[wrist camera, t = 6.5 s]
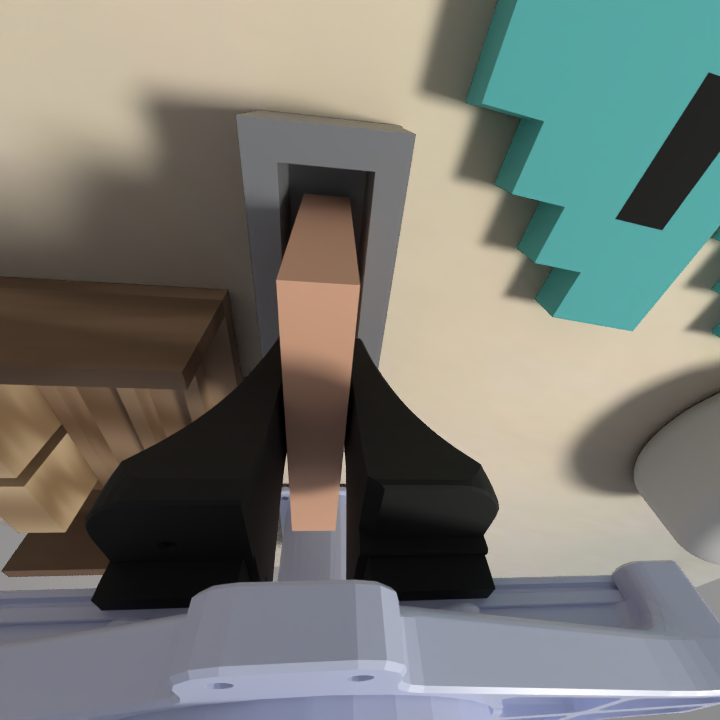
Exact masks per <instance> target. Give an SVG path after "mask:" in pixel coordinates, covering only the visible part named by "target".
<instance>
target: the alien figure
mask: <svg viewBox="0 0 720 720" xmlns="http://www.w3.org/2000/svg"><path fill="white" fill-rule="evenodd" d="M465 103H468V104H472V105H475V106H479V107H482V108H486V109H489V110H493V111H496V112H500V113H503V114H507V115H510V116H514V117H517V118H521V120H520V123H519V125H518V127H517V130H516V132H515V135H514V137H513V140H512V142H511V145H510V147H509V149H508V152H507V154H506V157H505V159H504V162H503V164H502V167H501V169H500V171H499V174H498V176H497V179H496V181H495V185H496V186H498V187H500V188H502V189H504V190H505V191H507V192H509V193H511V194H514V195H518V196H522V197H526V198H530V199H534V200H538V201H540V202H539V204H538V206H537V208H536V210H535V212H534V214H533V216H532V219H531V221H530V223H529V225H528V227H527V229H526V231H525V233H524V235H523V237H522V239H521V241H520V243H519V245H518V247H517V249H519V250H520V251H521V252H522V253H523V254H525V255H526V256H527V257H528V258H529V259H530V260H532V261H533V262H534V263H537V264H542V265H547V266H552V267H553V269H552V271H551V273H550V274H549V276H548V278H547V279H546V281H545V283H544V285H543V286H542V288H541V290H540V291H539V293H538V295H537V297H536V298H535V300H536V301H537V302H538V303H539V304H540V305H541V306H542V307H543V308H544V309H545V310H546V311H547V312H548V313H549V314H550V315H551V316H552V317H555V318H561V319H566V320H572V321H578V322H583V323H589V324H594V325H600V326H606V327H611V328H617V329H623V330H628V331H633V330H634V329H635V328H636V327H637V325H638V324H639V323H640V322H641V320H642V319H643V318H644V317H645V316H646V314H647V313H648V312H649V311H650V310H651V308H652V307H653V306H654V305H655V304H656V302H657V301H658V300H659V299H660V297H661V296H662V295H663V294H664V293H665V291H666V290H667V289H668V288H669V287H670V285H671V284H672V283H673V282H674V281H675V279H676V278H677V277H678V276H679V274H680V273H681V272H682V271H683V270H684V268H685V267H686V266H687V265H688V264H689V262H690V261H691V260H692V259H693V258H694V256H695V255H696V254H697V253H698V251H699V250H700V249H701V248H702V247H703V245H704V244H705V243H706V242H707V241H708V239H709V238H710V237H711V236H712V234H713V233H714V232H715V231H716V230H717V228H718V227H719V226H720V0H498V2H497V5H496V8H495V12H494V15H493V18H492V21H491V24H490V27H489V30H488V33H487V36H486V40H485V43H484V46H483V49H482V52H481V55H480V58H479V61H478V65H477V68H476V71H475V74H474V77H473V80H472V83H471V86H470V89H469V93H468V96H467V99H466V102H465ZM713 238H714V239H717V240H720V230H719V231H718V232H717V233H716V234H715V236H714V237H713ZM712 290H714V291H715V292H717V293H719V294H720V281H719V282H718V283H717V284H716V285H715V286H714V287H713V288H712ZM711 332H712V333H713V334H715V335H716V336H718V337H720V323H719V324H718V325H717V326H716V327H715V328H714V329H713V330H712V331H711Z"/></svg>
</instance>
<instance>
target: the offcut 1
mask: <svg viewBox="0 0 720 720" xmlns="http://www.w3.org/2000/svg"><path fill="white" fill-rule="evenodd" d="M61 424H62V423H61V422H60V420H59V419H58V417H57V416H56V414H55V413H54V411H53V410H52V408H51V407H50V405H49V404H48V402H47V401H46V399H45V397H44V396H43V394H42V393H41V391H40V390H39V388H38V387H37V385H6V384H0V478H17V477H18V476H19V474H20V473H21V472H22V471H23V470H24V468H25V467H26V466H27V465H28V464H29V463H30V461H31V460H32V459H33V458H34V457H35V455H36V454H37V453H38V452H39V451H40V449H41V448H42V447H43V446H44V445H45V443H46V442H47V441H48V440H49V439H50V438H51V436H52V435H53V434H54V433H55V432H56V430H57V429H58V428H59V427H60V426H61Z"/></svg>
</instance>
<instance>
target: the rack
mask: <svg viewBox="0 0 720 720" xmlns="http://www.w3.org/2000/svg"><path fill="white" fill-rule="evenodd" d="M241 382H242V376H241V369H240V363H239V356H238V350H237V344H236V337H235V331H234V325H233V318H232V312H231V305H230V299H229V293H228V290H221V289H203V288H186V287H169V286H152V285H135V284H118V283H100V282H83V281H66V280H49V279H32V278H15V277H0V384H6V385H37V387H38V388H39V390H40V391H41V393H42V394H43V396H44V397H45V399H46V401H47V402H48V404H49V405H50V407H51V408H52V410H53V411H54V413H55V414H56V416H57V417H58V419H59V420H60V422H61V423H62V425H63V427H64V428H65V430H66V431H67V433H68V434H69V436H70V437H71V439H72V440H73V442H74V443H75V445H76V446H77V448H78V450H79V451H80V453H81V454H82V456H83V457H84V459H85V460H86V462H87V463H88V465H89V466H90V468H91V469H92V471H93V472H94V474H95V476H96V477H97V479H98V481H97V482H96V484H95V486H94V487H93V489H92V490H91V492H90V494H89V495H88V497H87V498H86V500H85V502H84V503H83V505H82V506H81V508H80V510H79V511H78V513H77V514H76V516H75V518H74V519H73V521H72V523H71V524H70V526H69V527H68V529H67V531H66V532H50V533H28V534H27V535H26V537H25V538H24V540H23V541H22V543H21V544H20V545H19V547H18V548H17V550H16V551H15V552H14V554H13V555H12V557H11V558H10V560H9V561H8V562H7V564H6V565H5V567H4V568H3V570H2V572H3V573H4V574H6V575H7V576H8V577H22V576H23V577H27V576H68V575H69V576H71V575H72V576H73V575H103V574H104V572H105V570H106V568H107V566H108V564H109V562H110V561H109V559H108V558H107V557H106V556H105V555H104V553H103V552H102V551H101V550H100V549H99V547H98V546H97V545H96V544H95V543H94V541H93V540H92V539H91V538H90V536H89V534H88V532H87V530H86V528H85V518H86V516H87V514H88V513H89V511H90V509H91V508H92V506H93V504H94V503H95V501H96V499H97V498H98V496H99V494H100V492H101V491H102V489H103V487H104V486H105V484H106V483H107V481H108V479H109V478H110V476H111V475H112V474H113V472H114V471H115V470H116V468H117V467H118V466H119V464H120V463H121V461H123V460H125V459H127V458H129V457H131V456H133V455H135V454H137V453H139V452H141V451H143V450H145V449H147V448H149V447H151V446H153V445H155V444H157V443H159V442H160V441H162V440H164V439H166V438H167V437H169V436H171V435H172V434H174V433H176V432H178V431H179V430H181V429H182V428H184V427H186V426H187V425H189V424H190V423H192V422H193V421H195V420H196V419H198V418H199V417H200V416H202V415H203V414H205V413H206V412H207V411H209V410H210V409H211V408H213V407H214V406H215V405H216V404H218V403H219V402H220V401H221V400H223V399H224V398H225V397H226V396H227V395H228V394H229V393H231V392H232V391H233V390H234V389H235V388H236V387H237V386H238V385H239V384H240V383H241Z"/></svg>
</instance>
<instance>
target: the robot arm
mask: <svg viewBox="0 0 720 720" xmlns="http://www.w3.org/2000/svg"><path fill="white" fill-rule="evenodd" d="M344 449H345V460H346V487H340V490H339V500H338V509H337V519H336V529H335V531H292V522H291V506H290V490H289V487H282V482H283V474H284V466H285V460H286V454H287V443H286V427H285V412H284V396H283V380H282V364H281V348H280V336H279V337H278V339H277V340H276V342H275V343H274V344H273V346H272V347H271V349H270V350H269V351H268V353H267V354H266V355H265V356H264V358H263V359H262V360H261V361H260V362H259V364H258V365H257V366H256V367H255V368H254V369H253V371H252V372H251V373H250V374H249V375H248V376H247V377H246V378H245V379H244V380H243V381H242V382H241V383H240V384H239V385H238V386H237V387H236V388H235V389H234V390H233V391H232V392H231V393H229V394H228V395H227V396H226V397H225V398H224V399H223V400H221V401H220V402H219V403H218V404H216V405H215V406H214V407H213V408H211V409H210V410H209V411H207V412H206V413H205V414H203V415H202V416H200V417H199V418H198V419H196V420H195V421H193V422H192V423H190V424H189V425H187V426H186V427H184V428H182V429H181V430H179V431H178V432H176V433H174V434H172V435H171V436H169V437H167V438H166V439H164V440H162V441H160V442H159V443H157V444H155V445H153V446H151V447H149V448H147V449H145V450H143V451H141V452H139V453H137V454H135V455H133V456H131V457H129V458H127V459H125V460H123V461H121V463H120V464H119V466H118V467H117V468H116V470H115V471H114V472H113V474H112V475H111V476H110V478H109V479H108V481H107V483H106V484H105V486H104V487H103V489H102V491H101V492H100V494H99V496H98V498H97V499H96V501H95V503H94V504H93V506H92V508H91V509H90V511H89V513H88V514H87V516H86V518H85V528H86V530H87V532H88V534H89V536H90V538H91V539H92V540H93V541H94V543H95V544H96V545H97V546H98V547H99V549H100V550H101V551H102V552H103V553H104V555H105V556H106V557H107V558H108V559H109V561H110V562H109V564H108V566H107V568H106V570H105V572H104V574H103V576H102V578H101V580H100V582H99V584H98V586H97V588H93V589H56V590H55V589H54V590H16V591H0V720H601V719H611V718H621V717H632V716H643V715H655V714H668V713H680V712H689V711H693V710H697V709H701V708H706V707H710V706H714V705H718V704H720V622H719V621H718V619H717V618H716V617H715V615H714V614H713V612H712V611H711V610H710V608H709V607H708V606H707V604H706V603H705V602H704V600H703V599H702V597H701V596H700V595H699V593H698V592H697V590H696V589H695V588H694V586H693V585H692V584H691V582H690V581H689V579H688V578H687V577H686V575H685V574H684V573H683V571H682V570H681V568H680V567H679V566H678V564H677V563H676V562H674V561H672V560H660V561H634V562H629V563H626V564H623V565H622V566H620V567H618V568H617V569H616V570H615V571H614V572H613V573H612V575H596V576H557V577H518V578H492V576H491V573H490V570H489V566H488V563H487V560H486V557H485V555H486V554H487V553H488V547H487V544H486V541H485V538H484V534H485V532H486V531H487V529H488V528H489V526H490V525H491V523H492V522H493V520H494V519H495V517H496V515H497V512H498V510H499V504H498V500H497V497H496V495H495V492H494V490H493V487H492V485H491V483H490V481H489V479H488V477H487V475H486V473H485V472H484V470H483V468H482V466H481V464H479V463H478V462H476V461H475V460H473V459H472V458H470V457H469V456H467V455H466V454H464V453H463V452H461V451H459V450H458V449H456V448H455V447H453V446H452V445H451V444H449V443H448V442H447V441H445V440H444V439H443V438H441V437H440V436H439V435H437V434H436V433H435V432H434V431H432V430H431V429H430V428H429V427H428V426H427V425H426V424H424V423H423V422H422V421H421V420H420V419H419V418H418V417H417V416H416V415H415V414H414V413H413V412H412V411H411V410H410V409H409V408H408V407H407V406H406V405H405V404H404V403H403V402H402V401H401V399H400V398H399V397H398V396H397V395H396V394H395V392H394V391H393V390H392V388H391V387H390V386H389V384H388V383H387V382H386V380H385V379H384V378H383V376H382V375H381V373H380V372H379V370H378V368H377V367H376V365H375V364H374V362H373V360H372V359H371V357H370V355H369V353H368V351H367V349H366V347H365V345H364V343H363V341H362V340H361V339H360V338H355V342H354V352H353V361H352V371H351V381H350V391H349V401H348V411H347V421H346V430H345V440H344ZM279 510H280V518H281V528H282V539H283V541H282V549H281V558H280V566H279V575H278V582H273V571H274V561H275V550H276V540H277V529H278V519H279Z"/></svg>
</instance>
